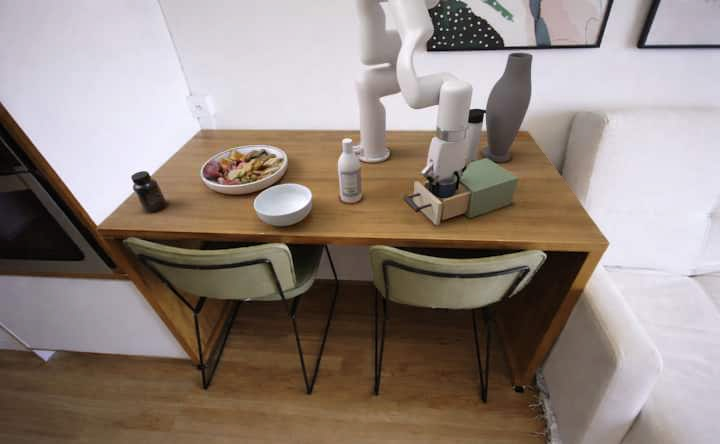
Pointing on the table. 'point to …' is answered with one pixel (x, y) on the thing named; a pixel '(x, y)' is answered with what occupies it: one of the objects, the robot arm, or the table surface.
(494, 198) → the cabinet
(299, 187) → the cereal bowl
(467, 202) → the drawer
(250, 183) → the bowl
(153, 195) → the supplement bottle
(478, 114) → the travel mug
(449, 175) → the tin
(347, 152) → the bath foam
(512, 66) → the vase
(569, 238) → the table surface
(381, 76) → the robot arm
